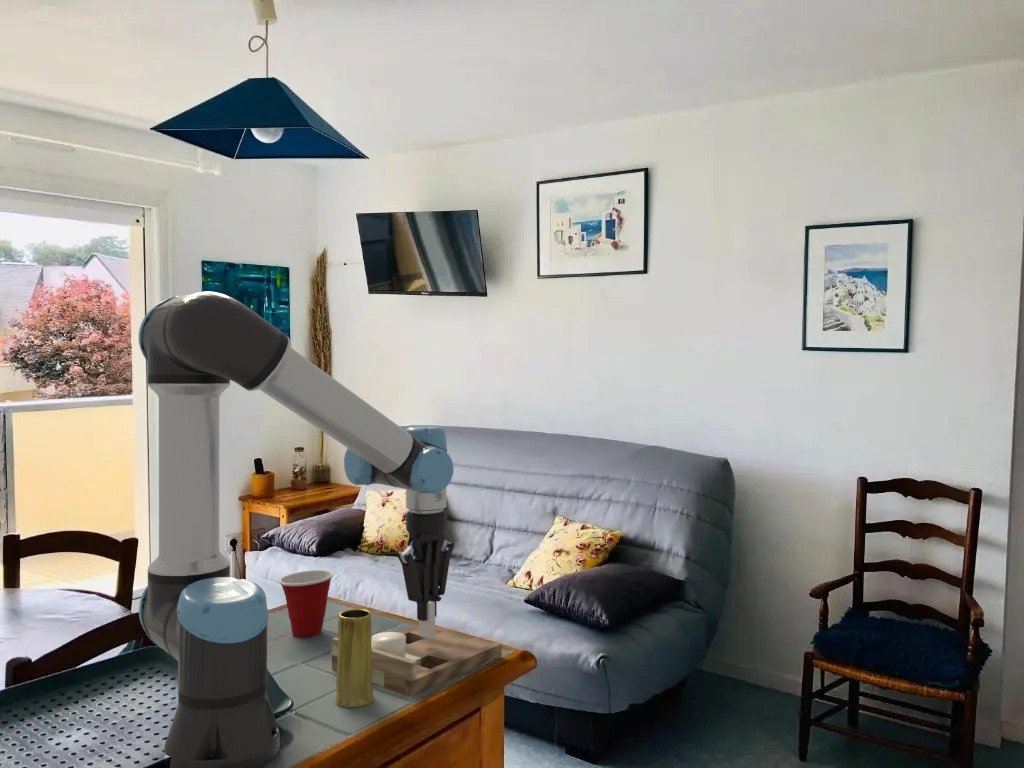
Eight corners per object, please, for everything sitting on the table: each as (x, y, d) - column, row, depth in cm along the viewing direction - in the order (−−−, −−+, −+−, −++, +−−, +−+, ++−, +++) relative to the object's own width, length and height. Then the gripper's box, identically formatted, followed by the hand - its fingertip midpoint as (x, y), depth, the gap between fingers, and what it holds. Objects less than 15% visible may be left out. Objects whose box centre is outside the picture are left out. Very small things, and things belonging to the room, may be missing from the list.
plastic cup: (283, 625, 171) (283, 569, 171) (335, 624, 172) (335, 568, 172) (273, 642, 160) (274, 582, 160) (329, 641, 162) (329, 581, 162)
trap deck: (411, 696, 134) (411, 663, 134) (331, 669, 146) (331, 638, 146) (501, 657, 153) (501, 627, 153) (424, 635, 165) (424, 608, 165)
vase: (370, 691, 136) (370, 606, 136) (376, 705, 130) (376, 617, 130) (333, 696, 134) (333, 609, 134) (337, 710, 128) (338, 620, 128)
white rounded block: (384, 668, 140) (384, 645, 140) (364, 659, 144) (364, 636, 144) (412, 660, 144) (412, 637, 144) (392, 651, 148) (392, 629, 148)
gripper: (416, 517, 143) (416, 650, 144) (464, 507, 154) (465, 631, 154) (386, 512, 148) (387, 641, 148) (435, 503, 158) (436, 623, 159)
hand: (427, 636), depth 151 cm, fingers closed
